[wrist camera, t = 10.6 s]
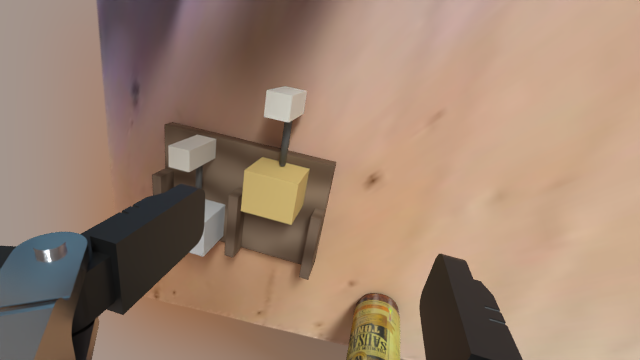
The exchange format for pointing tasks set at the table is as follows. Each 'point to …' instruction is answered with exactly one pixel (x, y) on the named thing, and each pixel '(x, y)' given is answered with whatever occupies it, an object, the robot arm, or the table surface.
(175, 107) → the table surface
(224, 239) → the lane rack
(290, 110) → the ochre block
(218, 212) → the white block with handle
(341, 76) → the table surface
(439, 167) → the table surface
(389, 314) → the sauce bottle
